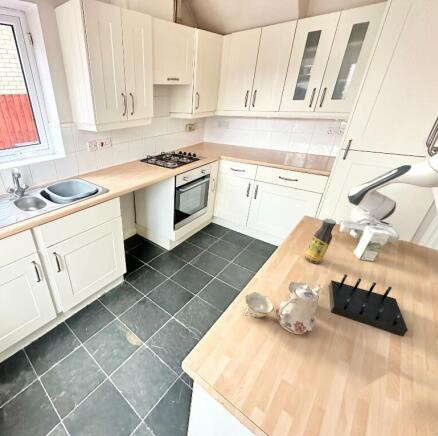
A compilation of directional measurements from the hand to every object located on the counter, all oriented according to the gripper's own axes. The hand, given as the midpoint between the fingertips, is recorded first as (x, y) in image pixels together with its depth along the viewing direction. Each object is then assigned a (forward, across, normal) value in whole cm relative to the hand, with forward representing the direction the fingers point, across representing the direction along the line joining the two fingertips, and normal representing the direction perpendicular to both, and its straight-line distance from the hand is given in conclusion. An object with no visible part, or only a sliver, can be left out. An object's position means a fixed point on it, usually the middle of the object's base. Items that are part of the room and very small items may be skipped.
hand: (370, 239), depth 104 cm
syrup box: (+3, 0, +8) cm, 8 cm away
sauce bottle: (+16, -19, +8) cm, 26 cm away
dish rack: (+38, -5, +8) cm, 39 cm away
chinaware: (+54, -27, +8) cm, 61 cm away
